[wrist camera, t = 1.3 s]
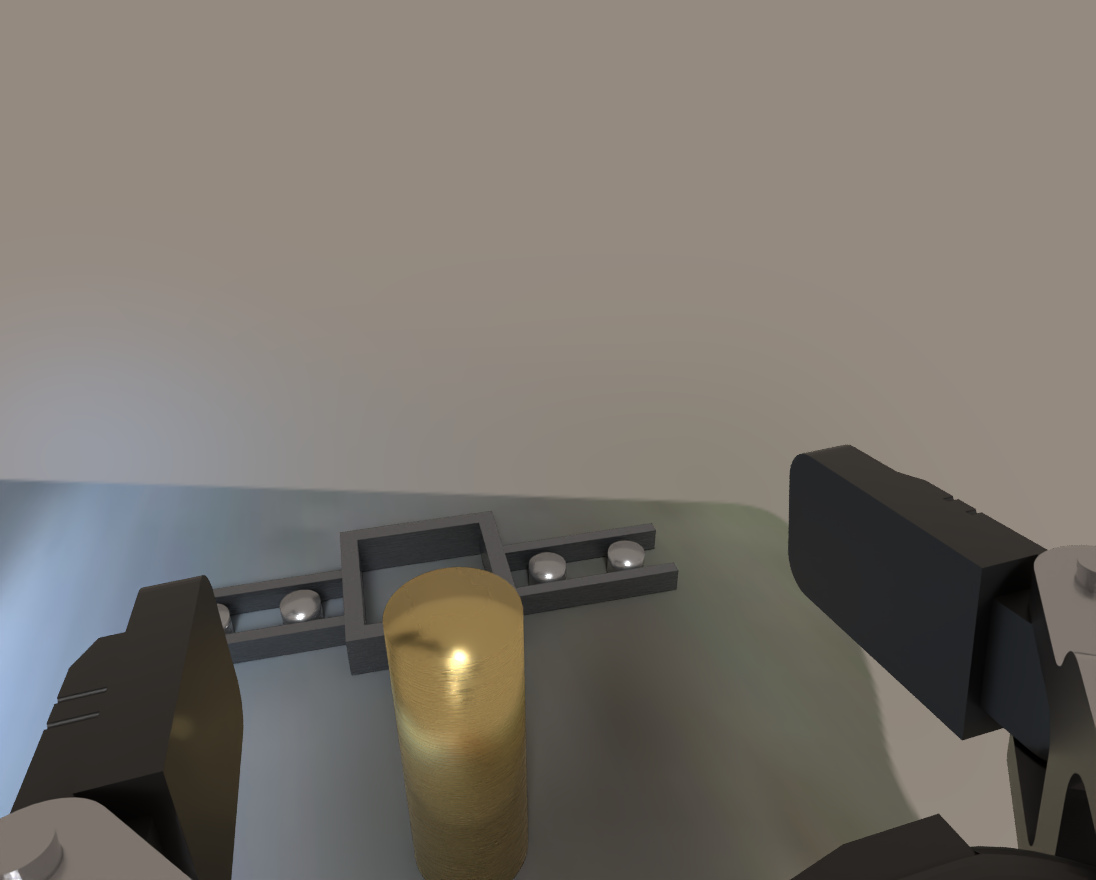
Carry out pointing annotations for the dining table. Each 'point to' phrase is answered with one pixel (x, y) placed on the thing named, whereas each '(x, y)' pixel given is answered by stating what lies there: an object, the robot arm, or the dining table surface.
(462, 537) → the ball bearing track
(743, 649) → the dining table surface
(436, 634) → the brass pin
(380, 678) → the dining table surface
